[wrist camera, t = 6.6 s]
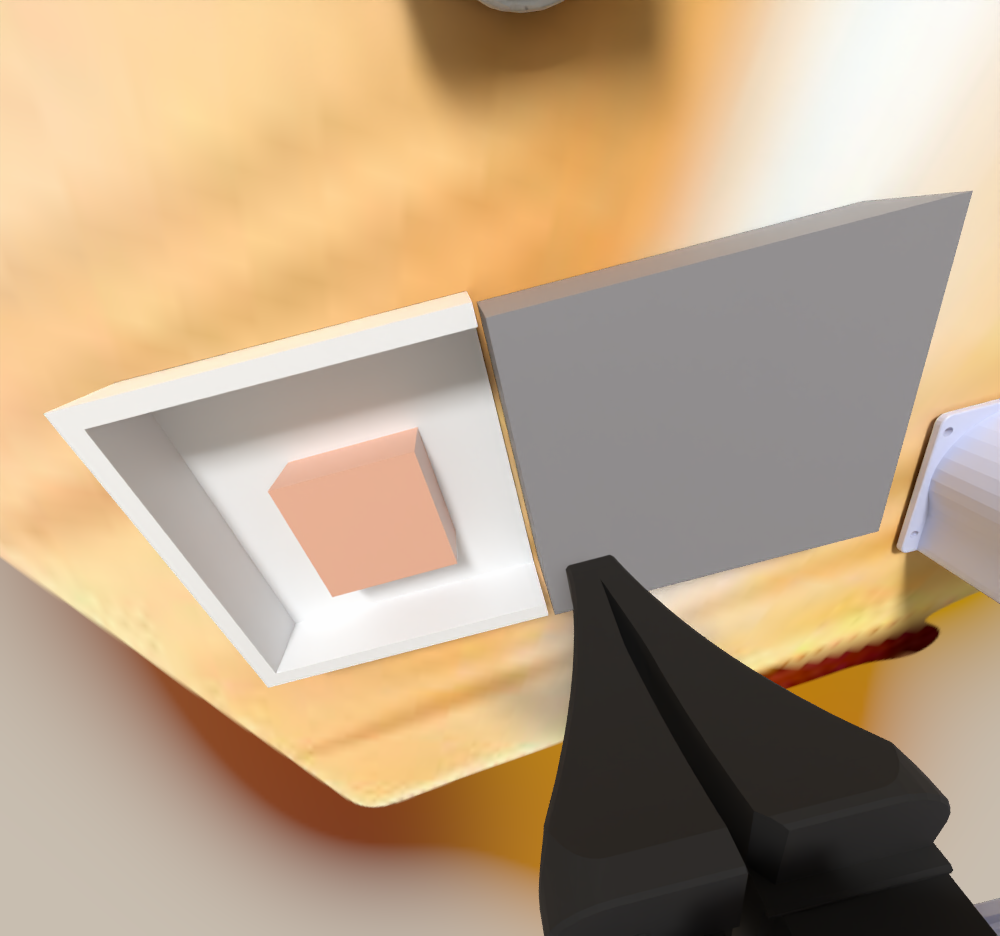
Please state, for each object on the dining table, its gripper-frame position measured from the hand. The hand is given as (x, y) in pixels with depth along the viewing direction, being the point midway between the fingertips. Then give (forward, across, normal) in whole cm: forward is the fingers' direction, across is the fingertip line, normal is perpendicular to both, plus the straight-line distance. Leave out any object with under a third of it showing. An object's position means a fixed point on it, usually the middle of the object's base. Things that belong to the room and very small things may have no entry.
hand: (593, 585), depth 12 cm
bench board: (+9, -7, 0) cm, 12 cm away
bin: (+9, +8, 0) cm, 13 cm away
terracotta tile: (+6, +8, 0) cm, 10 cm away
